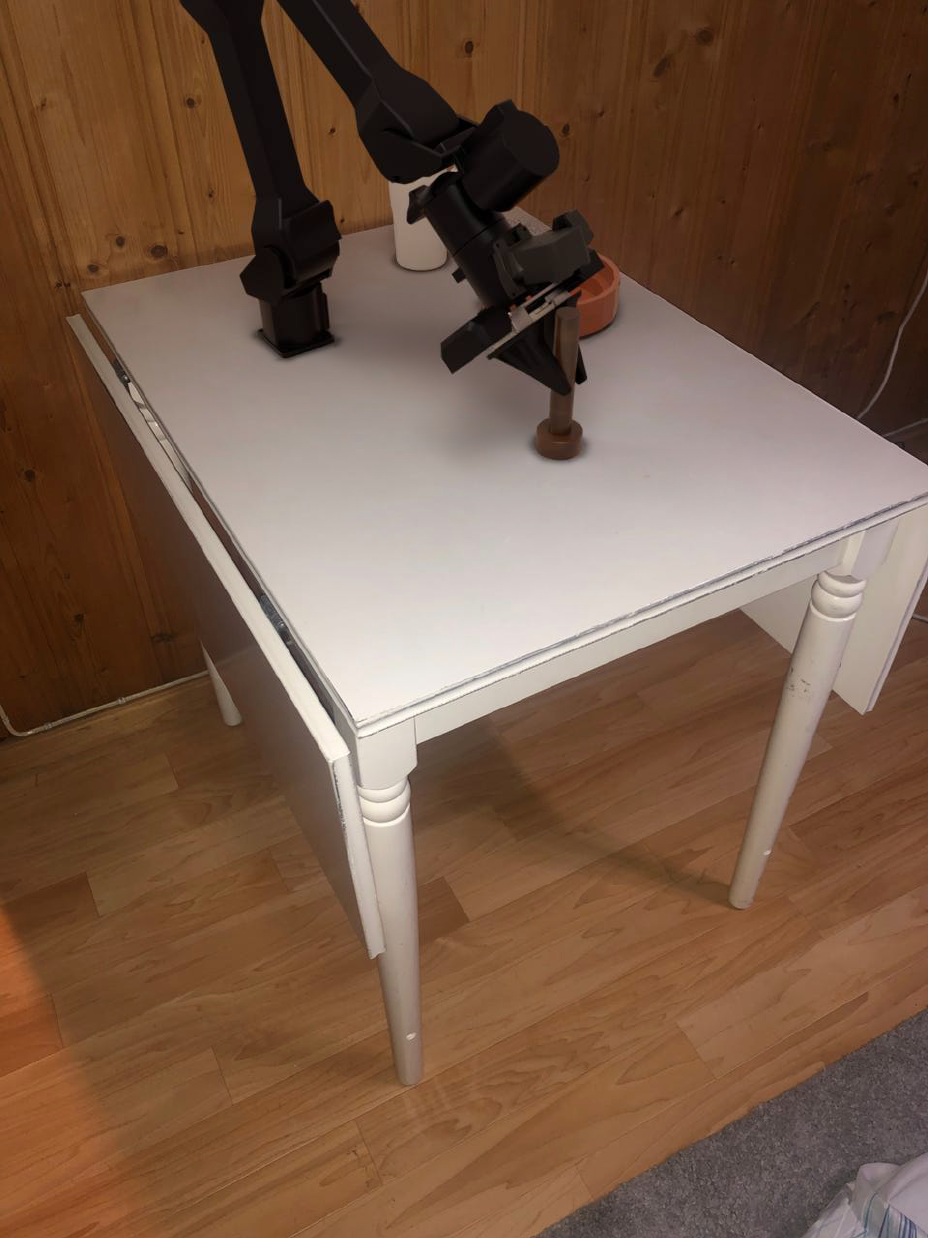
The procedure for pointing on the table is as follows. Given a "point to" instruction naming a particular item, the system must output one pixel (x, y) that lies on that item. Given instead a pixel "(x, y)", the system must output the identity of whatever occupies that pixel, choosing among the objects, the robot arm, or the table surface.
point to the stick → (560, 430)
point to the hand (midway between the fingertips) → (575, 388)
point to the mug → (415, 231)
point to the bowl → (597, 298)
